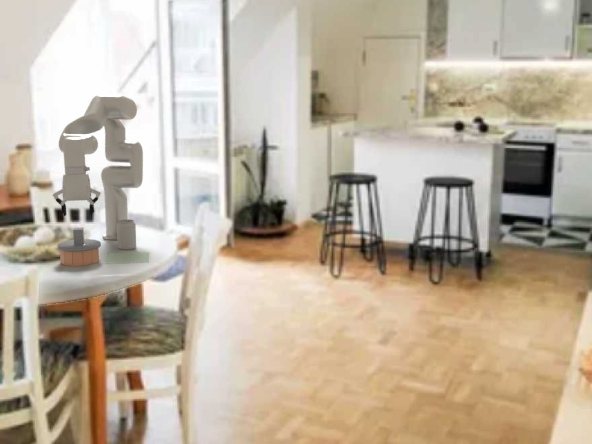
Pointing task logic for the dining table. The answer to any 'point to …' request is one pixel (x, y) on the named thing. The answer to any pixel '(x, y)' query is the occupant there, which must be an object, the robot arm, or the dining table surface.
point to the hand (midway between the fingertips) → (78, 214)
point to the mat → (127, 257)
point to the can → (126, 234)
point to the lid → (79, 242)
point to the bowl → (79, 257)
